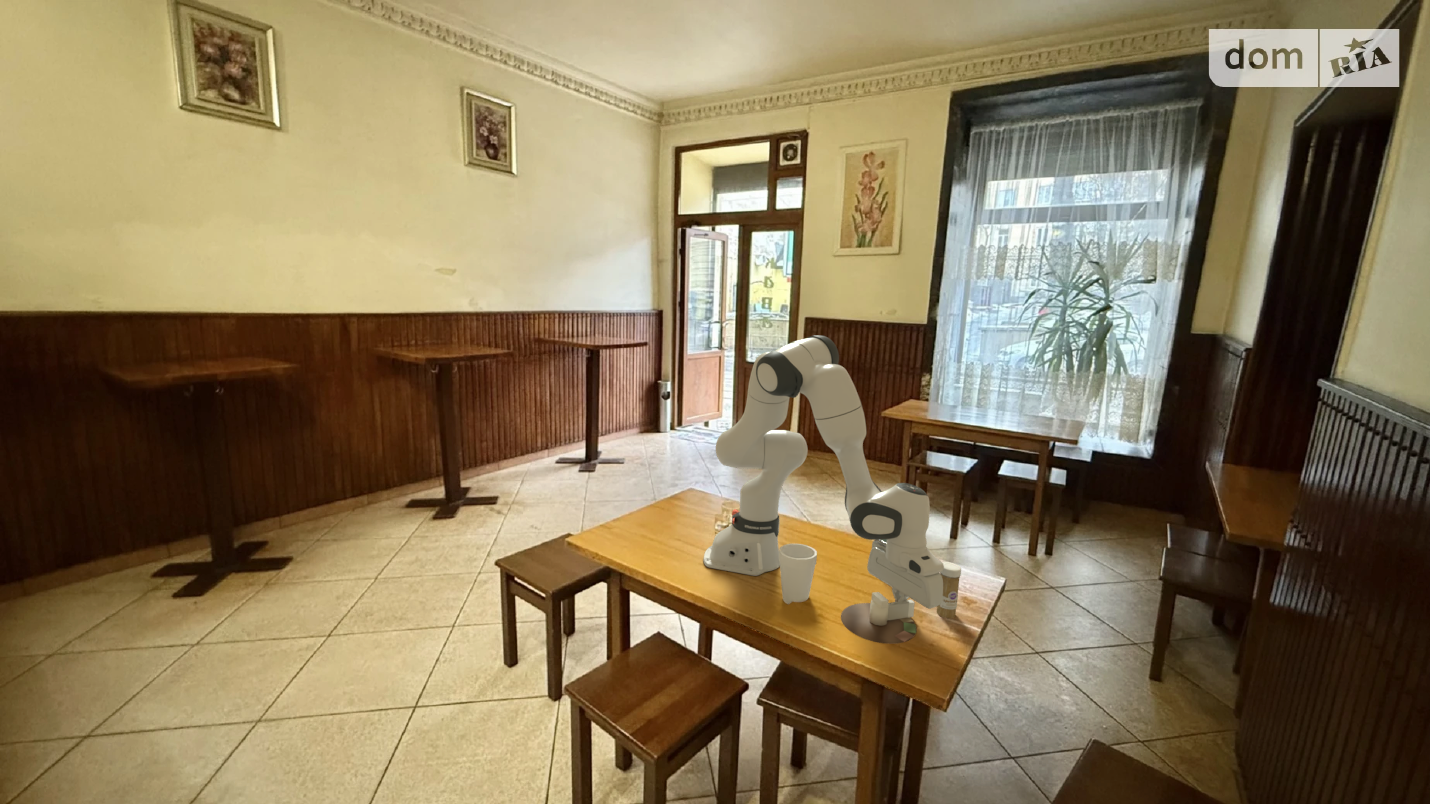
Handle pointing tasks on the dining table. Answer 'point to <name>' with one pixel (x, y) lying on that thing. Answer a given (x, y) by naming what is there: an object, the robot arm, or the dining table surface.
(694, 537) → the dining table surface
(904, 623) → the dial
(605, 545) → the dining table surface
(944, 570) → the sprinkles bottle
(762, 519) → the robot arm
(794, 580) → the foam cup
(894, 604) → the cream toy mallet
